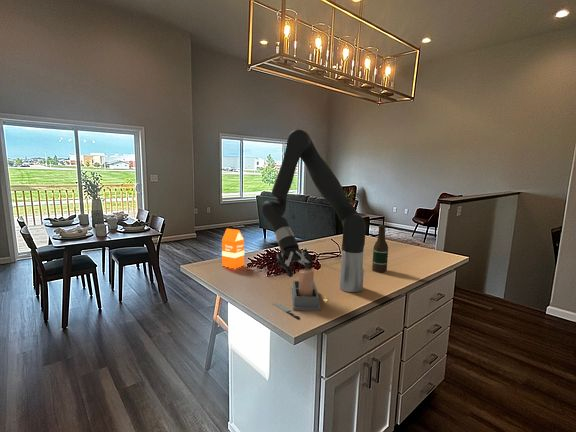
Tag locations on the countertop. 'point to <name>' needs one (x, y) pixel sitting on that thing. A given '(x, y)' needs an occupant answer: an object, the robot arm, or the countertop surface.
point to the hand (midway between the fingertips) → (300, 274)
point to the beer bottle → (380, 252)
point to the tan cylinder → (306, 282)
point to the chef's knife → (285, 310)
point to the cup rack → (305, 299)
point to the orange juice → (232, 249)
